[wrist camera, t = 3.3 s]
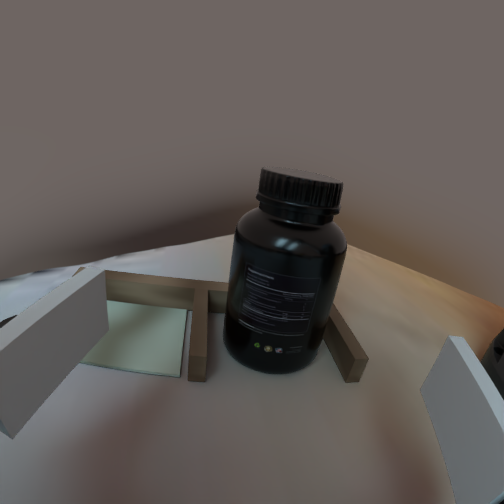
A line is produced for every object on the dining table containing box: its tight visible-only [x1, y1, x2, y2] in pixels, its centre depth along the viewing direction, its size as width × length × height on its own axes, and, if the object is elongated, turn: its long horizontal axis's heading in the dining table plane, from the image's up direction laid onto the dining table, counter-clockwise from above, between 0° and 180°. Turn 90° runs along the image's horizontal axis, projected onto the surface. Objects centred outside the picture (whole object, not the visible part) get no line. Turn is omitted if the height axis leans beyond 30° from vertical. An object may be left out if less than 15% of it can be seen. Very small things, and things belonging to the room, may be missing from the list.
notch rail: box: [72, 267, 369, 382], centre depth 21 cm, size 21×10×2 cm, turn 96°
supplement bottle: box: [223, 167, 347, 374], centre depth 20 cm, size 7×7×12 cm
